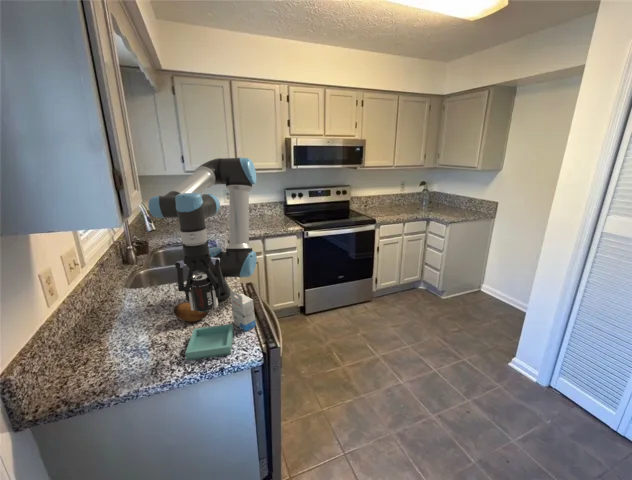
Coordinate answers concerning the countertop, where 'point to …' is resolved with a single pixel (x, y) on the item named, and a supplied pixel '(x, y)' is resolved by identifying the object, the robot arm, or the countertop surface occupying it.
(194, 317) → the potato
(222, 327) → the collection tray
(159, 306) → the countertop surface
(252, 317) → the ink box
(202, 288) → the beverage can
